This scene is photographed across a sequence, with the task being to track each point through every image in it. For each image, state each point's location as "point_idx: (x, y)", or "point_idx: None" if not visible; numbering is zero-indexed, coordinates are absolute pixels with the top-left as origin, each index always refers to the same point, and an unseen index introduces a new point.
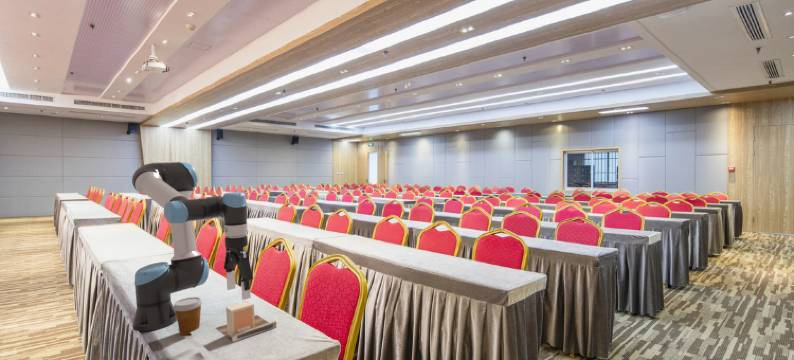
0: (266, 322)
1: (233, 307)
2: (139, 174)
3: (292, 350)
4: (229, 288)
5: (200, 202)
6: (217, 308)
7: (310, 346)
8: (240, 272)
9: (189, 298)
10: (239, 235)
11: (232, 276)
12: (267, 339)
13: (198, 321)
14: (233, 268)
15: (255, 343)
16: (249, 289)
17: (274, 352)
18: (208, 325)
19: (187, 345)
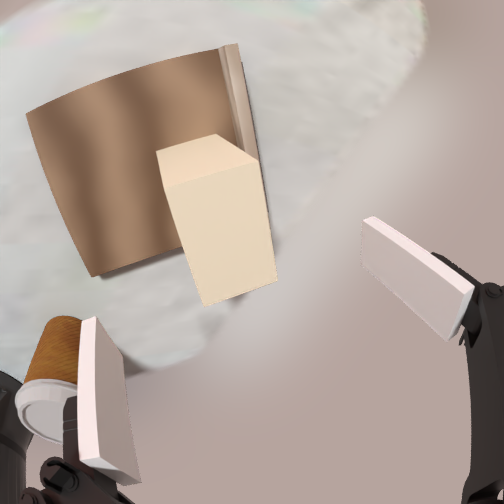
0: (145, 74)
1: (232, 273)
2: None
3: (392, 70)
4: (118, 357)
5: None
6: None
7: (399, 25)
8: (477, 395)
9: (24, 419)
10: None
11: (109, 422)
12: (279, 100)
13: (73, 341)
14: (109, 496)
15: (283, 144)
16: (434, 254)
17: (374, 113)
18: (28, 292)
19: (166, 332)
